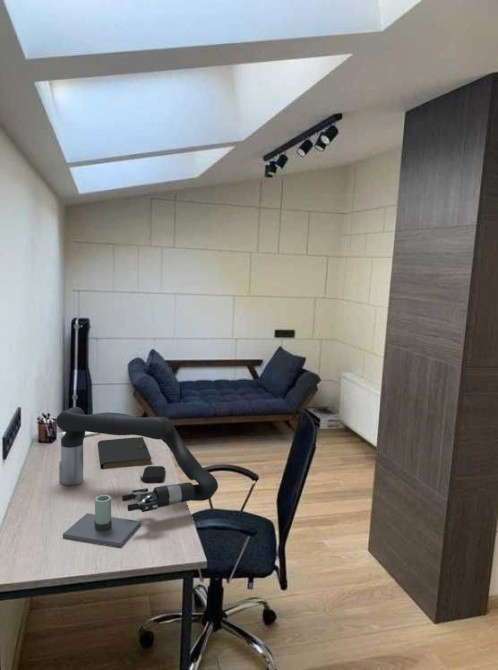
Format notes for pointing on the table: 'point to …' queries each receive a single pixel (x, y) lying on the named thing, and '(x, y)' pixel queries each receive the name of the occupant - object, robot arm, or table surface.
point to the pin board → (113, 536)
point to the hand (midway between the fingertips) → (124, 503)
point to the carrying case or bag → (153, 474)
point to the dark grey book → (123, 453)
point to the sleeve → (103, 513)
